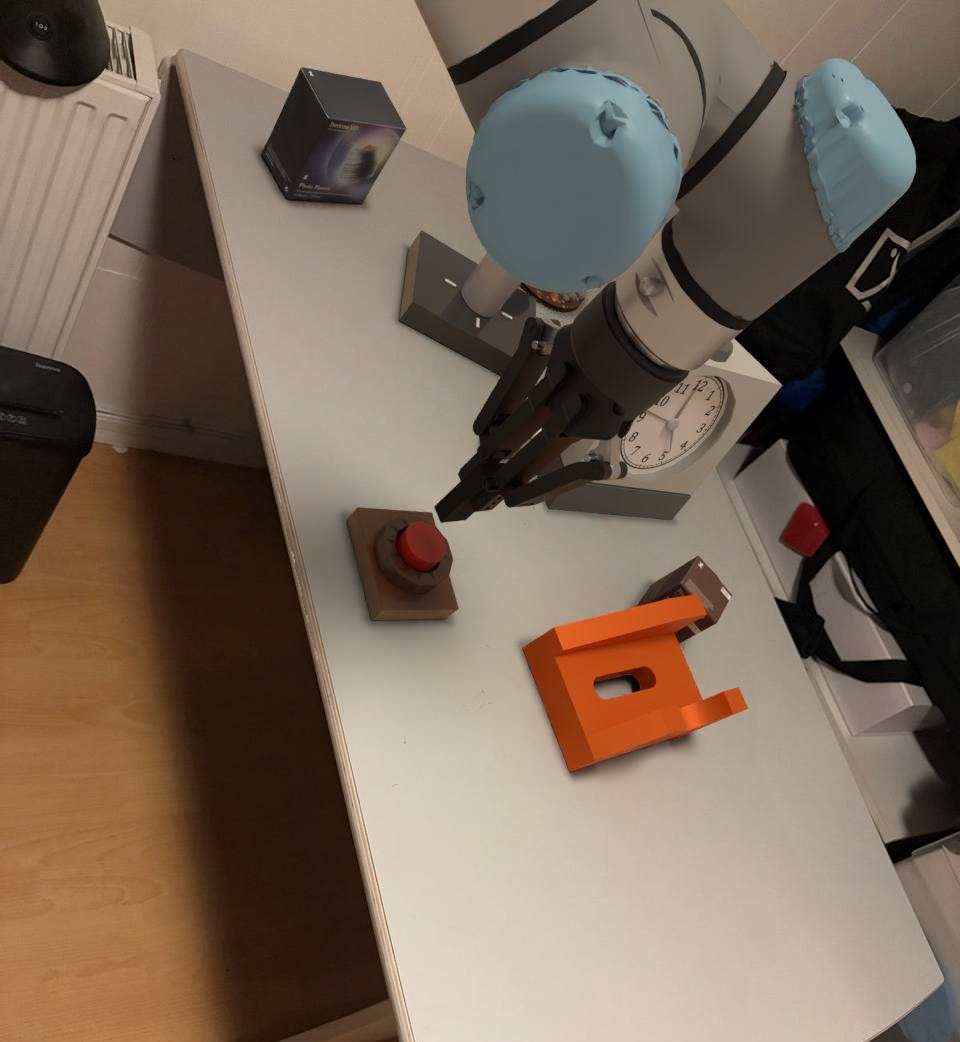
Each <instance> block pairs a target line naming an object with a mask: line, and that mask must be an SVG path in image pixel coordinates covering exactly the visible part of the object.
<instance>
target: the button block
mask: <svg viewBox="0 0 960 1042" xmlns="http://www.w3.org/2000/svg"><path fill="white" fill-rule="evenodd" d="M346 522H347V525H348V530H349V534H350V539H351V543H352V547H353V552H354V555H355V559H356V564H357V567H358V571H359V575H360V580H361V584H362V588H363V592H364V596H365V600H366V604H367V609H368V612H369V617H370V620H371V621H400V620H402V621H403V620H404V621H405V620H407V621H409V620H446V619H448V618H449V617H451V616H452V615H453V614H455V613H456V612H457V611H458V610H459V604H458V601H457V598H456V594H455V590H454V586H453V583H452V579H451V575H450V573H451V570H452V567H453V562H454V557H453V554H452V550H451V548H450V543H449V541H448V540H447V538H446V537H445V536H444V534H443V533H442V532H441V531H440V529H439V528H438V527H437V525H436V521H435V517H434V514H433V512H431V511H418V510H417V511H415V510H404V509H403V510H402V509H401V510H400V509H390V508H389V509H388V508H373V507H359V506H357V507H356V508H355V509H354V510H353V511H352V512H351V514H349V516H348V517H347V518H346ZM415 522H425V523H428V524H430V525H432V526H434V527H435V528H436V529H437V530H438V531H439V532H440V533H441V535H442V536H443V538H444V540H445V544H446V553H445V556H444V557H443V559H442V560H440V561H439V562H438V563H437V564H436V565H435V566H434V567H433V568H431V569H430V570H428V571H417V570H414V569H412V568H410V567H409V566H407V565H406V564H405V563H404V562H403V560H402V559H401V558H400V556H399V554H398V551H397V540H398V538H399V536H400V535H401V534H402V533H403V532H404V531H405V530H406V529H407V528H408V527H409V526H410V525H411V524H412V523H415Z"/></svg>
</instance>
